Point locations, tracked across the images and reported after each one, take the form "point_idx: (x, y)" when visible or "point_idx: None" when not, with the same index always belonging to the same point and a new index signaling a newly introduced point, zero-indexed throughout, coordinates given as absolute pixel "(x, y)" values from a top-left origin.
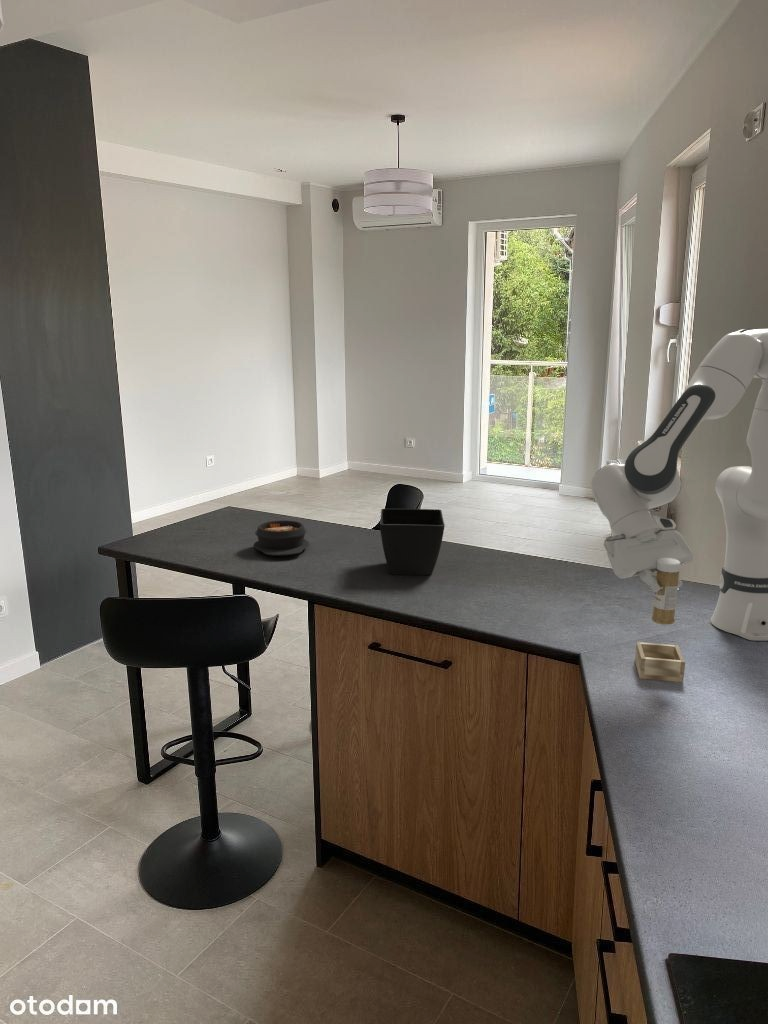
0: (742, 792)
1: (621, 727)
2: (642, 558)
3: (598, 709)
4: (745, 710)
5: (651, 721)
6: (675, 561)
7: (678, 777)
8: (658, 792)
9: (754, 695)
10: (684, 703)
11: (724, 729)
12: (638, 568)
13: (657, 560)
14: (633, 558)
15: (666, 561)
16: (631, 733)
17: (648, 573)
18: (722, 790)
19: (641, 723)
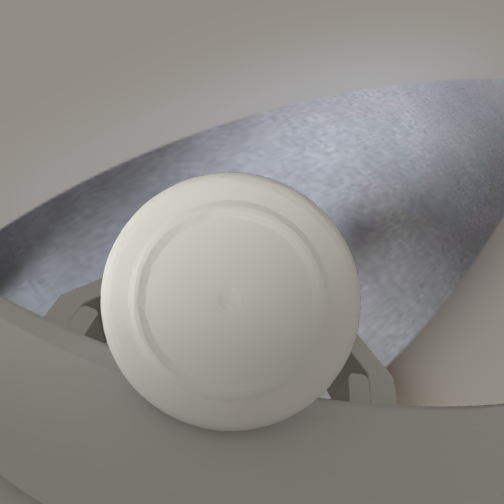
0: (437, 93)
1: (458, 237)
2: (420, 487)
3: (448, 292)
4: (267, 128)
5: (418, 215)
6: (197, 225)
7: (471, 143)
8: (496, 151)
9: (199, 138)
10: (328, 204)
11: (350, 131)
12: (477, 409)
13: (298, 410)
14: (489, 487)
15: (285, 303)
16: (458, 220)
17: (380, 383)
18: (450, 107)
19: (432, 223)
